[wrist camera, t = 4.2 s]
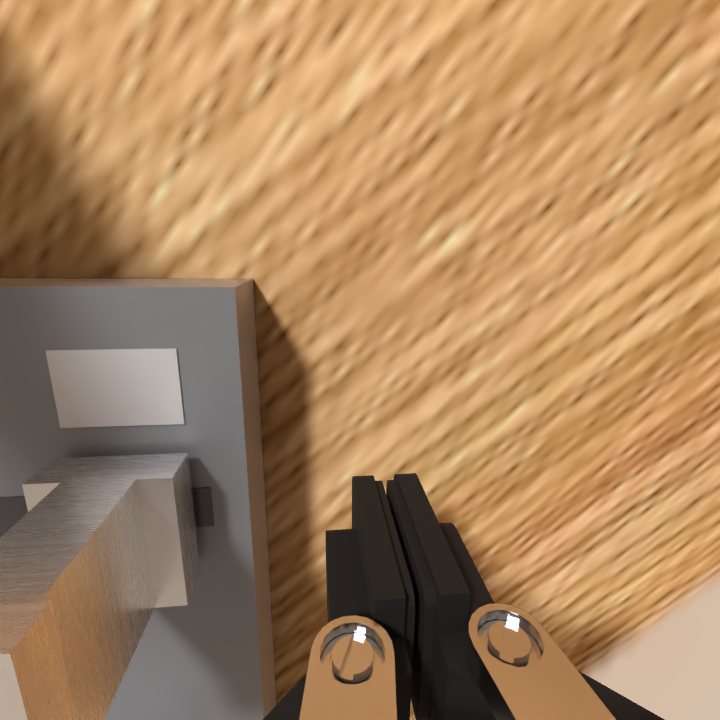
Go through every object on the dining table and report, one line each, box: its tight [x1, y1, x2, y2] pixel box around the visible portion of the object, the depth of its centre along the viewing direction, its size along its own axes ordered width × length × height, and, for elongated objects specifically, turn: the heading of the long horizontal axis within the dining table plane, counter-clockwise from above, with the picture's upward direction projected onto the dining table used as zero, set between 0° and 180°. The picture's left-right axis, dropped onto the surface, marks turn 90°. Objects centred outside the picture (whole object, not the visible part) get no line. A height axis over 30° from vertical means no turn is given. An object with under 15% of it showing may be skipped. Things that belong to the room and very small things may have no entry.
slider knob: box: [0, 453, 200, 720], centre depth 8 cm, size 3×4×6 cm
